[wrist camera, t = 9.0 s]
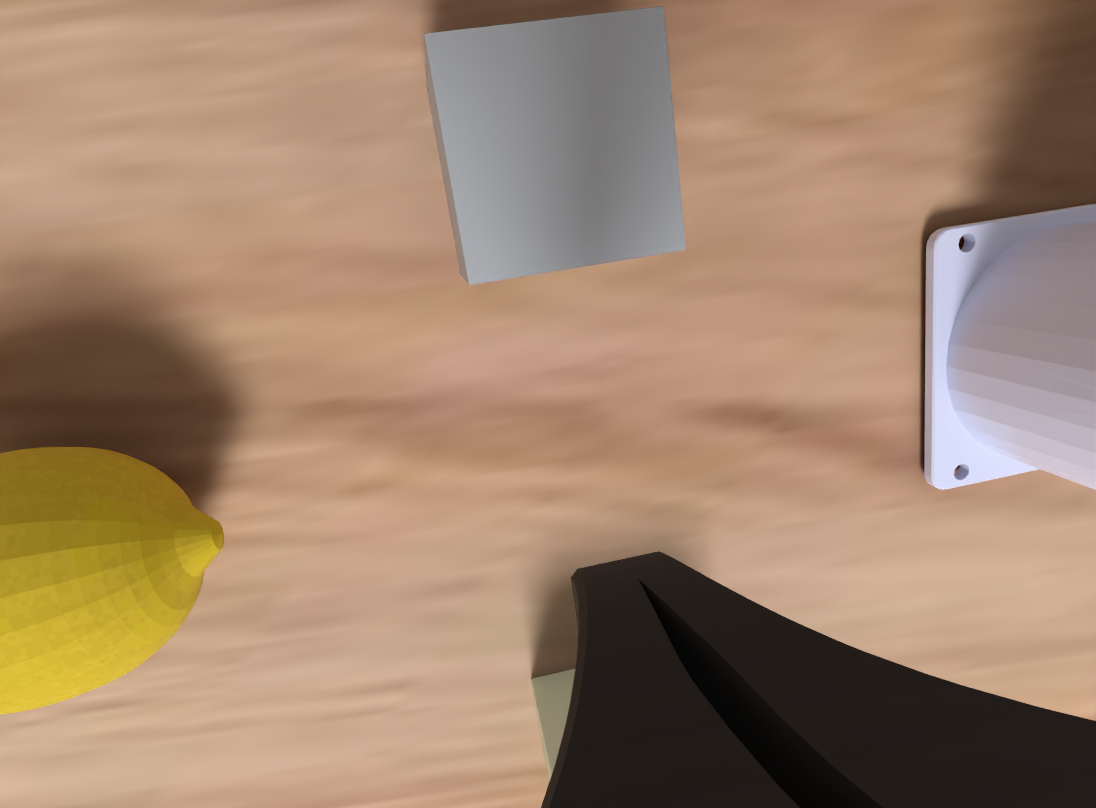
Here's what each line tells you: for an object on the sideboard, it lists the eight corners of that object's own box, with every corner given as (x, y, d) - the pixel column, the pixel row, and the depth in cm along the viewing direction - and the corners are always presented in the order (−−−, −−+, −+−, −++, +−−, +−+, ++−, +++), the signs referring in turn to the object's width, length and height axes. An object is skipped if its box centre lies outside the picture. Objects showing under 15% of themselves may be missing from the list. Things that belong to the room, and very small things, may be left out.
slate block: (604, 68, 17) (663, 6, 12) (624, 248, 18) (685, 249, 13) (427, 90, 16) (424, 33, 12) (460, 274, 17) (469, 285, 13)
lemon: (256, 448, 18) (-51, 511, 17) (152, 380, 13) (-297, 466, 12) (277, 653, 17) (-61, 735, 16) (168, 670, 11) (-349, 794, 10)
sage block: (668, 645, 21) (728, 749, 17) (680, 759, 22) (739, 885, 18) (530, 677, 20) (556, 793, 16) (550, 793, 22) (579, 930, 17)
